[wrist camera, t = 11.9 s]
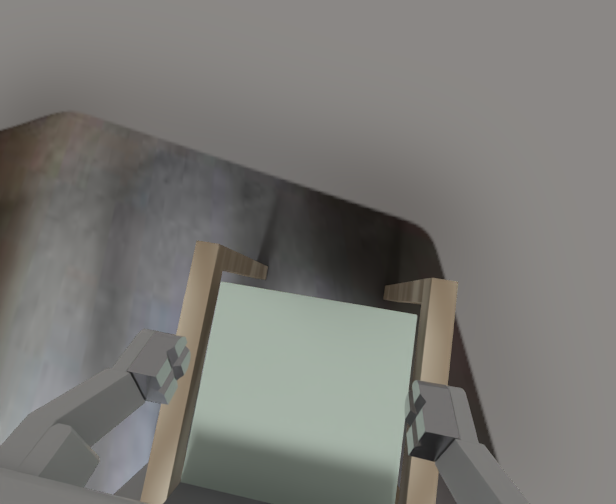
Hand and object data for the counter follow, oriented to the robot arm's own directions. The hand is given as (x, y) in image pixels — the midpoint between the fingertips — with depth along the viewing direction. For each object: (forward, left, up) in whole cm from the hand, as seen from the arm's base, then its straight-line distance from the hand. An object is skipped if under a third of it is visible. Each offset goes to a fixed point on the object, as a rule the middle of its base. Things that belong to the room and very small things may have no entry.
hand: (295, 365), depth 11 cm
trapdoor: (0, -6, -8) cm, 10 cm away
